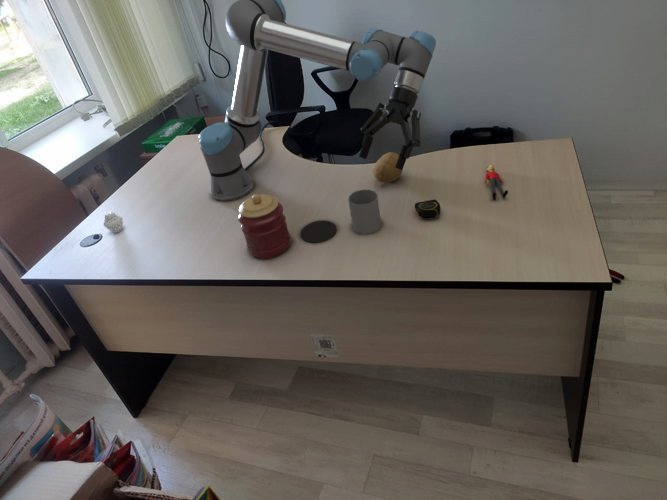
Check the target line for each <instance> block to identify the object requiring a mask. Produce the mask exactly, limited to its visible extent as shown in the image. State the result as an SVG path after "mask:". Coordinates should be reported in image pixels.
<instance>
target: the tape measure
mask: <svg viewBox="0 0 667 500" xmlns="http://www.w3.org/2000/svg"><path fill="white" fill-rule="evenodd" d="M414 209H415V211H416V213H417V215H418V217H419V218H421V219H422V220H423V219H424V220H432V219H436V218H438V217H439V216H440V215H441V204H440V202H439V201H438V200H437V199H429V200H428V199H427V200H423V201H418V202H415V203H414Z"/></svg>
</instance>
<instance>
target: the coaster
mask: <svg viewBox="0 0 667 500" xmlns="http://www.w3.org/2000/svg"><path fill="white" fill-rule="evenodd" d="M337 231H338V228H337V225H336V224H335V223H334V222H332V221H330V220H315V221H311V222H309V223H308V224H306V225H305V226H303V227H302V228H301V230H300V238H301V239H302V240H303V241H304V242H307V243H310V244H319V243H323V242H327V241H329V240H330V239H332V238H333V237H334V236H335V235H336V233H337Z"/></svg>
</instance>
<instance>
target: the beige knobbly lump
mask: <svg viewBox="0 0 667 500" xmlns="http://www.w3.org/2000/svg"><path fill="white" fill-rule="evenodd" d="M123 225H124V221H123V217H122V216H120V215H118V214H116V213H115V212H114V211H110V212H108V213H106V214H105V215H104V221H103V227H105V228H106V229H107V230H108V231H110V232H112V233H114V234H115V233H116V234H117V233H119V232H121V231H122V230H123Z"/></svg>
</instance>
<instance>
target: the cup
mask: <svg viewBox="0 0 667 500" xmlns="http://www.w3.org/2000/svg"><path fill="white" fill-rule="evenodd" d="M347 201H348V207H349V212H350V218H351V224H352V229H353V231H354V233H357V234H360V235H369V234H373V233H375V232H377V231H379V230H380V228H381V226H382V222H381V213H380V205H379V204H380V203H379V193H377V192H376V190H372V189H359V190H356V191H353V192H352V193H350V195H349V196H348V199H347Z"/></svg>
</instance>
